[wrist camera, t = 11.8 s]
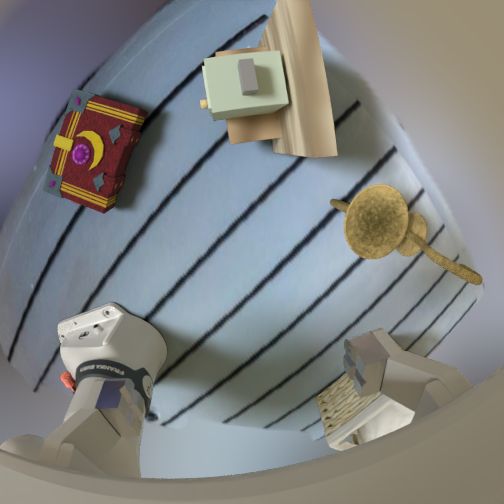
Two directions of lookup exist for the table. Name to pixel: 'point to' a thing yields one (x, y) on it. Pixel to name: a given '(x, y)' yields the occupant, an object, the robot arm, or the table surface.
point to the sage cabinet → (244, 85)
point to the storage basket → (358, 414)
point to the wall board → (292, 88)
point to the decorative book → (93, 150)
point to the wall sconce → (390, 229)
